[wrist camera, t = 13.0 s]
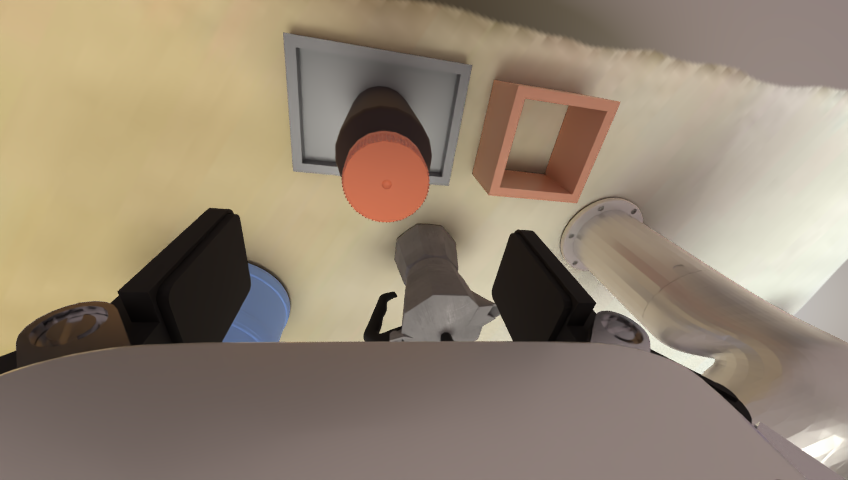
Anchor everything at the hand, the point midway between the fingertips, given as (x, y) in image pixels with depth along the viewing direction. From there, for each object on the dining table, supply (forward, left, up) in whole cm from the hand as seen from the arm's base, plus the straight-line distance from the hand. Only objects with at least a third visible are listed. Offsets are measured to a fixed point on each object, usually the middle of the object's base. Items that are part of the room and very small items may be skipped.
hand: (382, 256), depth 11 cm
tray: (0, 0, -28) cm, 28 cm away
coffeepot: (-7, +18, -28) cm, 34 cm away
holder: (-18, 0, -28) cm, 33 cm away
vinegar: (0, 0, -27) cm, 27 cm away
